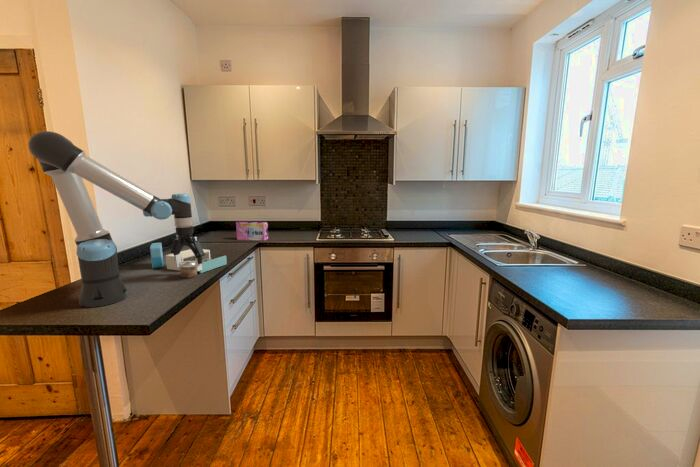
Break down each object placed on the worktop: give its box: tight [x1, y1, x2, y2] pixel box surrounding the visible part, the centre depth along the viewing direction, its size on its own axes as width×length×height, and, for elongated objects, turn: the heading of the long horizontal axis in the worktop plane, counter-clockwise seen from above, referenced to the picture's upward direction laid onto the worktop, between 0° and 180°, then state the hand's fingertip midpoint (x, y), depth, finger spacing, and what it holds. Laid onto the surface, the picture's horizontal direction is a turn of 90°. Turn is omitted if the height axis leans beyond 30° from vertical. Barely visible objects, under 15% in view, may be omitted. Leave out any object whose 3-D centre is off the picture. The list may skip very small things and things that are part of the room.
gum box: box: [235, 220, 269, 241], centre depth 240 cm, size 24×8×14 cm, turn 82°
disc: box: [179, 261, 196, 268], centre depth 152 cm, size 8×8×2 cm
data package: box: [149, 242, 164, 269], centre depth 169 cm, size 12×4×12 cm
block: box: [179, 266, 198, 279], centre depth 152 cm, size 5×5×5 cm
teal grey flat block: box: [198, 255, 228, 274], centre depth 165 cm, size 13×18×5 cm
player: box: [164, 248, 211, 272], centre depth 170 cm, size 12×18×7 cm, turn 157°
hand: (189, 268), depth 153 cm, fingers open, 13 cm apart
